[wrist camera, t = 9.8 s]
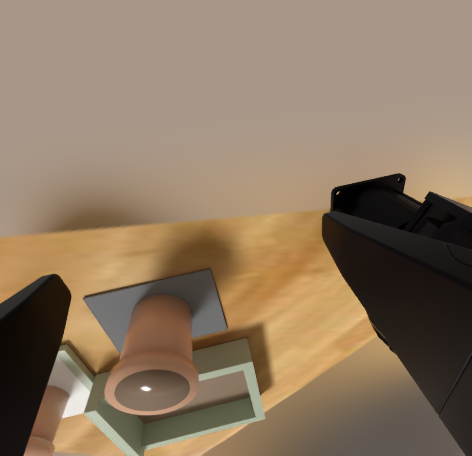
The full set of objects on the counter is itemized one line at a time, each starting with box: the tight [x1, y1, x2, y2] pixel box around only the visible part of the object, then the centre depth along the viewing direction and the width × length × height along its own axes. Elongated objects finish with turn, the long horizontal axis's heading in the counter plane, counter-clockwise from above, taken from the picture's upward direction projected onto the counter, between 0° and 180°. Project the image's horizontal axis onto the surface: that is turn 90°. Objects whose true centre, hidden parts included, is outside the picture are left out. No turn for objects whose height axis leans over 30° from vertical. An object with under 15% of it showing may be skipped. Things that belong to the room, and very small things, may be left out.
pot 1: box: [24, 385, 69, 456], centre depth 27 cm, size 6×6×6 cm
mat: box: [83, 269, 227, 354], centre depth 26 cm, size 12×9×1 cm
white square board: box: [48, 344, 95, 418], centre depth 29 cm, size 10×12×1 cm
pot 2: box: [104, 294, 199, 415], centre depth 23 cm, size 7×7×8 cm
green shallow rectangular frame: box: [84, 338, 265, 456], centre depth 32 cm, size 18×14×4 cm
